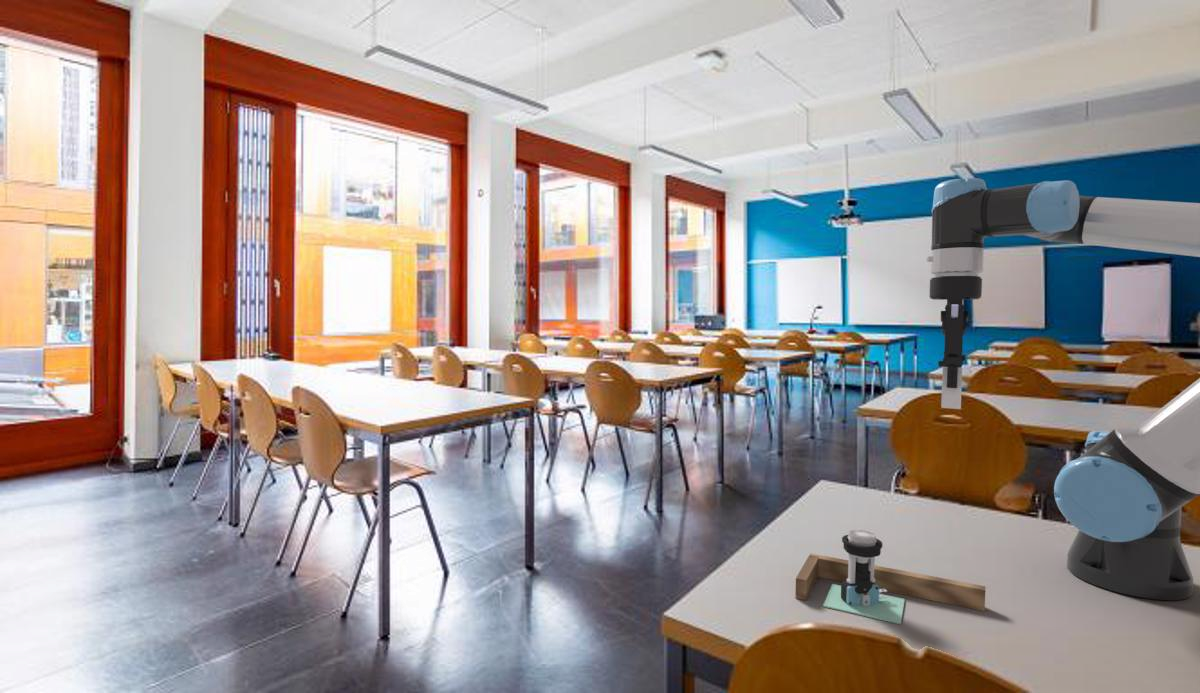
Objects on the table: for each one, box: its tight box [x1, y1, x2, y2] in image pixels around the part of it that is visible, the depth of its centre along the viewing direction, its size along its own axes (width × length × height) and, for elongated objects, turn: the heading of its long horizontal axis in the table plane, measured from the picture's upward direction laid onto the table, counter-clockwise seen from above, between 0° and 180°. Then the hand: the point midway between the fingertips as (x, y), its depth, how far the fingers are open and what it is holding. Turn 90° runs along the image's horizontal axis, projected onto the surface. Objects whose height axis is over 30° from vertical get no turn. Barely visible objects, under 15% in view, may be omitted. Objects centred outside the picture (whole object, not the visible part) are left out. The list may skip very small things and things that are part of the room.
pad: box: [822, 583, 906, 625], centre depth 90 cm, size 10×8×1 cm
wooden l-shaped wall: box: [794, 553, 986, 612], centre depth 90 cm, size 24×11×3 cm, turn 61°
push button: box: [840, 529, 888, 606], centre depth 89 cm, size 7×5×10 cm
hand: (951, 403), depth 104 cm, fingers open, 13 cm apart
